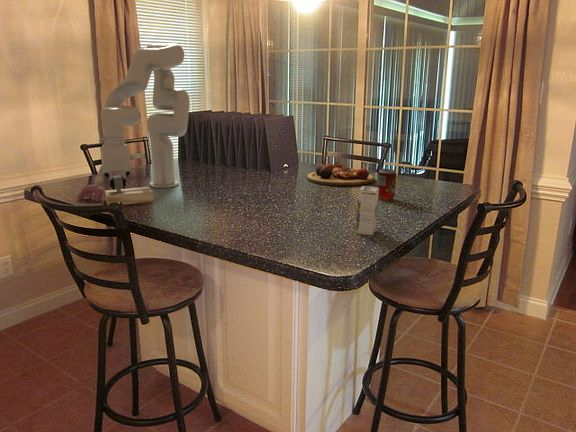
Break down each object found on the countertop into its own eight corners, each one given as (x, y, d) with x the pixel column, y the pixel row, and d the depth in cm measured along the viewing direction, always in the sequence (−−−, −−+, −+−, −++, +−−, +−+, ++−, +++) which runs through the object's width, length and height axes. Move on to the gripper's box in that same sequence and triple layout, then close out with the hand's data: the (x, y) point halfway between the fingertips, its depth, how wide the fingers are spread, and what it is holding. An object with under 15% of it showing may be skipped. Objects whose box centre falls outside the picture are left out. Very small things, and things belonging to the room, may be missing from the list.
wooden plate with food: (387, 182, 228) (388, 165, 226) (335, 189, 210) (336, 171, 208) (343, 172, 253) (344, 156, 251) (294, 178, 236) (294, 161, 234)
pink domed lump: (104, 204, 190) (108, 187, 191) (96, 201, 186) (100, 184, 187) (83, 201, 193) (87, 185, 194) (75, 199, 189) (79, 182, 190)
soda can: (390, 202, 190) (392, 172, 187) (373, 200, 194) (375, 170, 191) (397, 199, 196) (399, 169, 193) (381, 196, 200) (383, 167, 197)
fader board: (105, 200, 189) (104, 190, 188) (149, 196, 196) (149, 186, 195) (107, 206, 182) (106, 195, 180) (153, 201, 189) (153, 191, 187)
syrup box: (358, 228, 158) (360, 185, 154) (376, 230, 157) (379, 187, 153) (355, 233, 153) (357, 189, 149) (374, 235, 151) (377, 191, 147)
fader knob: (113, 189, 188) (112, 175, 186) (121, 189, 189) (120, 175, 187) (115, 192, 183) (114, 178, 182) (123, 192, 185) (122, 177, 183)
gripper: (91, 143, 174) (96, 192, 179) (138, 141, 181) (141, 189, 186) (90, 141, 181) (95, 188, 186) (135, 139, 187) (138, 185, 193)
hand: (118, 188), depth 186 cm, fingers closed on fader knob, 3 cm apart
